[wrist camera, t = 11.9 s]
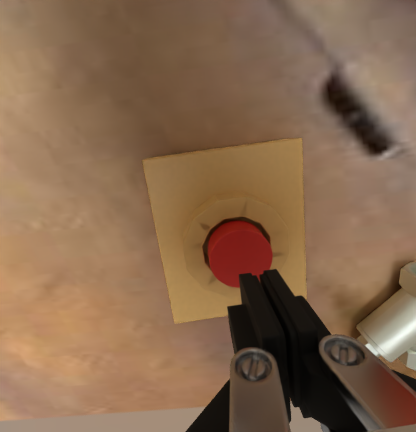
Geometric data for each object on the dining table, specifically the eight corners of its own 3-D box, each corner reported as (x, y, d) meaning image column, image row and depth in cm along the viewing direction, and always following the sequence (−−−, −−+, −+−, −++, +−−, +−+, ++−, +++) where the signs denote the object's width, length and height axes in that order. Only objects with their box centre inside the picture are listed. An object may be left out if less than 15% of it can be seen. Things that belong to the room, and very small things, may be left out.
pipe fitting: (345, 343, 24) (421, 338, 23) (370, 381, 20) (460, 376, 20) (351, 264, 22) (434, 258, 21) (380, 290, 18) (482, 283, 18)
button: (203, 224, 16) (205, 234, 14) (262, 216, 16) (271, 225, 14) (211, 277, 17) (213, 292, 15) (266, 269, 17) (274, 283, 15)
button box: (147, 157, 18) (135, 162, 14) (289, 138, 18) (316, 136, 14) (176, 306, 21) (172, 342, 17) (295, 288, 21) (318, 319, 18)
